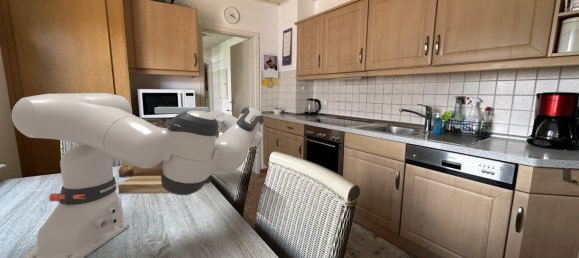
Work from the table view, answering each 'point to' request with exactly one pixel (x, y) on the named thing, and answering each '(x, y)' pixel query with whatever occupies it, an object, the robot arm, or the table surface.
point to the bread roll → (126, 170)
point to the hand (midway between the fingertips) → (200, 109)
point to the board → (142, 185)
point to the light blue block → (178, 109)
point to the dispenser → (159, 168)
